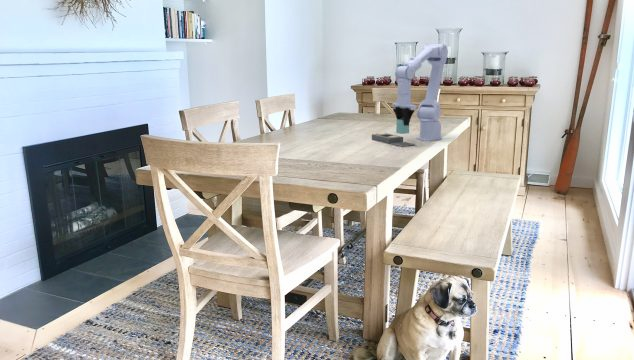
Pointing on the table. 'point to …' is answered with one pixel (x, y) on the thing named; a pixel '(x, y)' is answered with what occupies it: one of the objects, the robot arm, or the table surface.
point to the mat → (402, 144)
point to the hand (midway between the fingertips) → (403, 124)
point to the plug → (401, 127)
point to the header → (387, 138)
